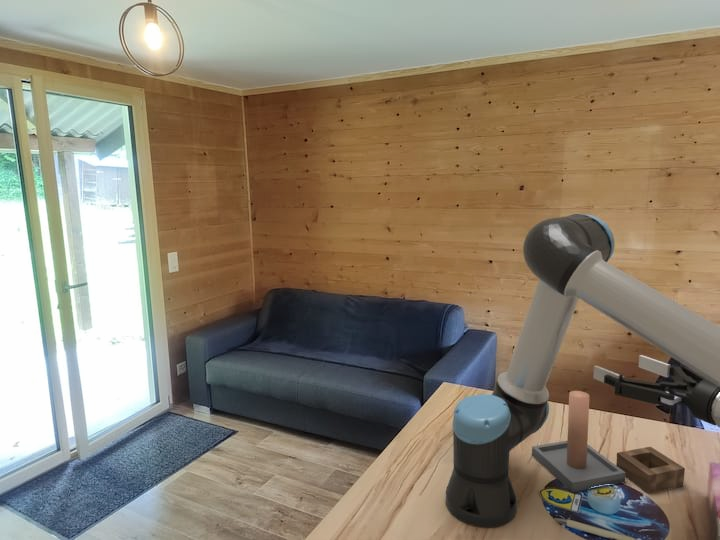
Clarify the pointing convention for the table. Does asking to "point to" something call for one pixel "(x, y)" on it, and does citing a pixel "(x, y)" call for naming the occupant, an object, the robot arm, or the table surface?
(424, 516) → the table surface
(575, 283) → the robot arm
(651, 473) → the socket block
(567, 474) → the tray
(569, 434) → the dowel
